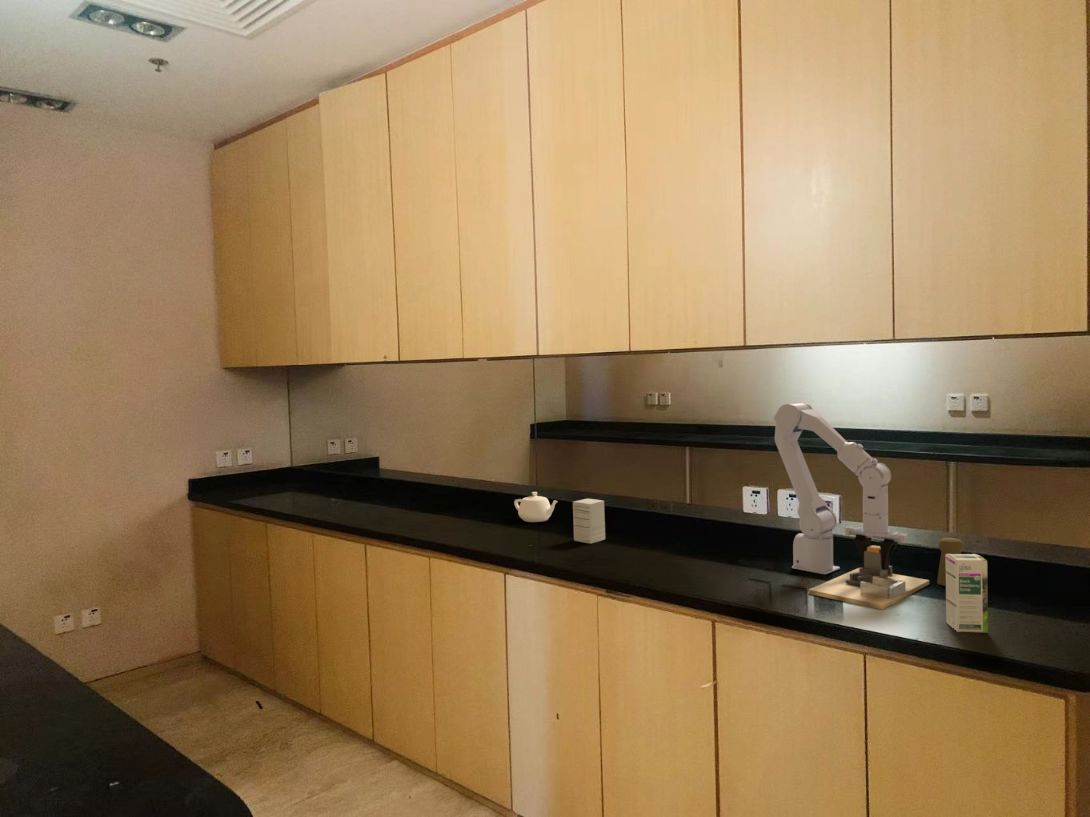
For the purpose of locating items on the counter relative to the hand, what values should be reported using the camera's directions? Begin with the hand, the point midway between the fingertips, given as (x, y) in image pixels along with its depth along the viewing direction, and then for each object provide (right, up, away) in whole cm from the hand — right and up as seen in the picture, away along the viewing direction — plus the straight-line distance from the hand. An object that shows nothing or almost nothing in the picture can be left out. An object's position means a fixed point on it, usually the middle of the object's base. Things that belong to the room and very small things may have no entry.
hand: (875, 567), depth 181 cm
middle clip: (-6, -2, -6) cm, 9 cm away
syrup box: (+2, -5, -35) cm, 35 cm away
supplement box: (-68, -3, +51) cm, 85 cm away
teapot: (-85, -2, +87) cm, 122 cm away
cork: (+16, -3, -5) cm, 17 cm away
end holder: (-5, -3, -14) cm, 15 cm away
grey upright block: (0, -2, 0) cm, 2 cm away
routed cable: (-5, -2, -7) cm, 9 cm away
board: (-5, -3, -8) cm, 10 cm away
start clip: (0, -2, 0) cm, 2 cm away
